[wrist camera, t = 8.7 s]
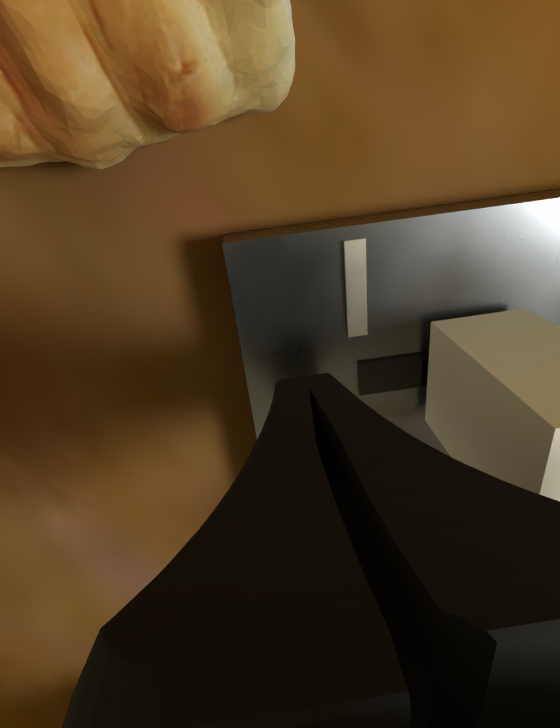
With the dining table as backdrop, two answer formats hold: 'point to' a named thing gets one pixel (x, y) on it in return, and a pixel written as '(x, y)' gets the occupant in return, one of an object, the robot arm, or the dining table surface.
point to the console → (385, 294)
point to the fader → (498, 396)
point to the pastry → (133, 73)
